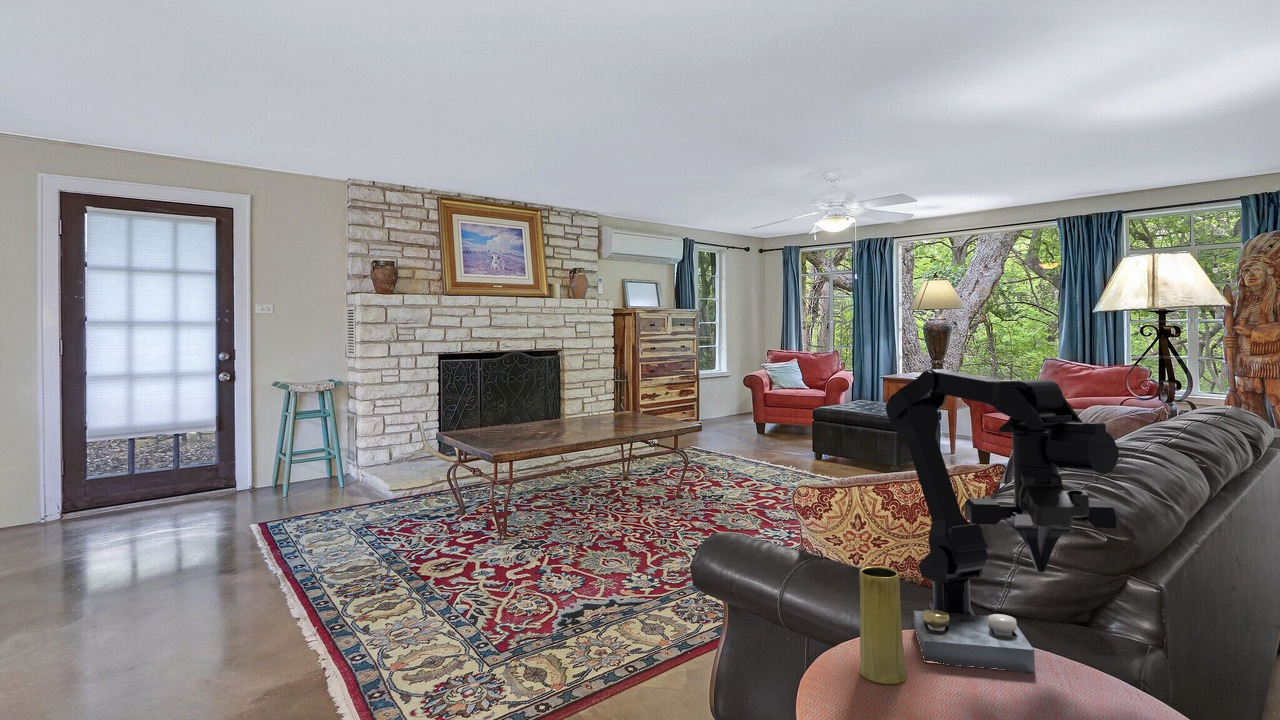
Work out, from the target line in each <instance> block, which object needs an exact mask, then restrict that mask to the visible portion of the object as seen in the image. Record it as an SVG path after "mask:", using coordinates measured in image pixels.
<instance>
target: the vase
mask: <svg viewBox="0 0 1280 720" xmlns="http://www.w3.org/2000/svg"><path fill="white" fill-rule="evenodd" d="M900 585H901V584H900V574H899V572H898V571H897V570H896V569H893V568H891V567H886V566H878V565H877V566H874V565H873V566H872V565H871V566H866V567H862V568H860V569H859V604H860V605H859V607H860V608H859V610H860V616H859V617H860V618H859V619H860V622H859V624H860V625H859V629H860V630H859V631H860V632H859V635H860V636H859V659H860V664H859V665H860V666H859V673H860V675H861V676H862V677H863V678H864V679H866V680H867V681H870V682H872V683H875V684H879V685H888V686H889V685H890V686H891V685H899V684H901V683H903V682H904V681H906V680H907V672H906V668H905V667H906V666H905V654H904V642H903V626H902V614H901V588H900Z"/></svg>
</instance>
